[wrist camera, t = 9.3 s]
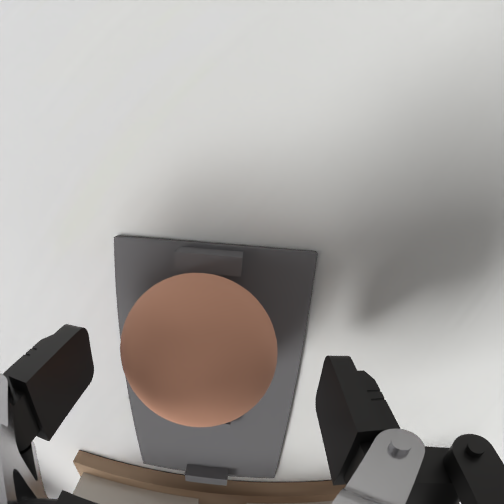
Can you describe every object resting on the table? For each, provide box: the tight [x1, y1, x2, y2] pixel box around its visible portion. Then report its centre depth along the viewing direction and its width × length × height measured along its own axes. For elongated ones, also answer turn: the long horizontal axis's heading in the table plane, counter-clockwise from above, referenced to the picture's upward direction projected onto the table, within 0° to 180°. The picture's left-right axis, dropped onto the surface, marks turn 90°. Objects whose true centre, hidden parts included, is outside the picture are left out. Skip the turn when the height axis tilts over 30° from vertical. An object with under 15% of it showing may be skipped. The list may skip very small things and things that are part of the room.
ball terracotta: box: [120, 273, 277, 427], centre depth 10 cm, size 5×5×5 cm
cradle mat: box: [114, 236, 317, 486], centre depth 13 cm, size 14×8×1 cm, turn 175°
